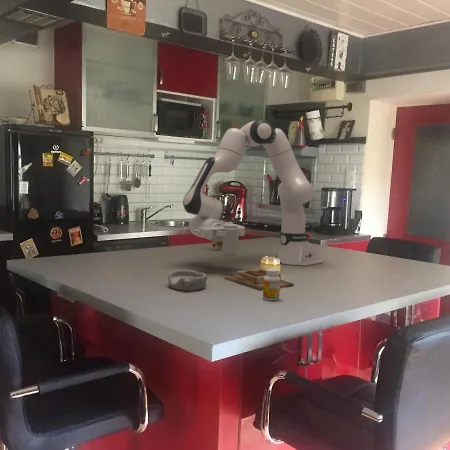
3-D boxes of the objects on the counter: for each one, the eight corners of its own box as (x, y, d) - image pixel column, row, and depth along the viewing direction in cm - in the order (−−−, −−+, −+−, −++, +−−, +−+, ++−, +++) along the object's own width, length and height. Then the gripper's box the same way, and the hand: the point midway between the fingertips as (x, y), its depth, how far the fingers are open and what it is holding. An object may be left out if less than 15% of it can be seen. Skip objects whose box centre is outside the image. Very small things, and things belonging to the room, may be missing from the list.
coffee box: (211, 250, 268) (212, 219, 267) (212, 248, 275) (213, 218, 273) (228, 251, 268) (229, 220, 266) (229, 249, 274) (230, 219, 272)
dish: (191, 294, 172) (192, 279, 171) (159, 287, 179) (159, 273, 179) (215, 286, 184) (215, 273, 184) (184, 281, 191) (184, 268, 191)
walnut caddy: (256, 275, 207) (257, 266, 206) (293, 286, 189) (294, 276, 189) (224, 278, 198) (224, 269, 197) (259, 290, 180) (260, 280, 179)
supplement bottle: (261, 296, 171) (262, 268, 170) (277, 297, 171) (278, 268, 170) (264, 300, 166) (265, 271, 165) (280, 301, 166) (282, 271, 165)
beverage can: (237, 256, 202) (238, 226, 200) (221, 255, 202) (222, 225, 201) (238, 254, 208) (239, 224, 207) (223, 253, 209) (224, 224, 207)
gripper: (192, 223, 209) (211, 226, 197) (233, 221, 220) (253, 225, 209) (192, 238, 209) (210, 243, 198) (233, 236, 221) (252, 240, 210)
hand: (232, 233), depth 204 cm, fingers closed on beverage can, 5 cm apart
